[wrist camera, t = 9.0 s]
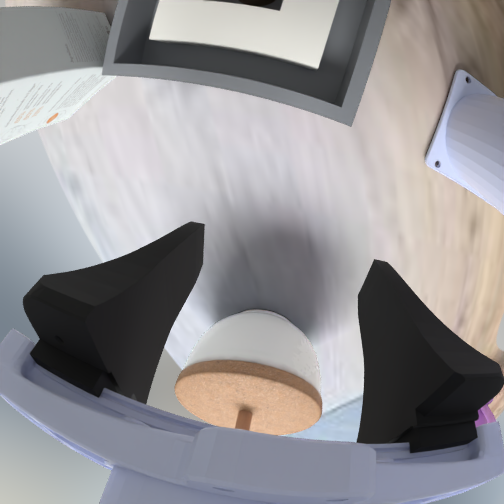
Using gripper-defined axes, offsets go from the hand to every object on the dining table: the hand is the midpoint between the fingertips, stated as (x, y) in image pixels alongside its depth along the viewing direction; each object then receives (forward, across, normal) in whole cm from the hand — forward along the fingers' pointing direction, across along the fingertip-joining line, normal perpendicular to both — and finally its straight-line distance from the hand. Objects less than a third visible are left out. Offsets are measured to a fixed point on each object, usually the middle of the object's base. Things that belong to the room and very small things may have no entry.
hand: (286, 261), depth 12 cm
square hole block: (+9, +4, -14) cm, 17 cm away
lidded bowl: (+10, 0, +16) cm, 19 cm away
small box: (+10, +18, -8) cm, 22 cm away
